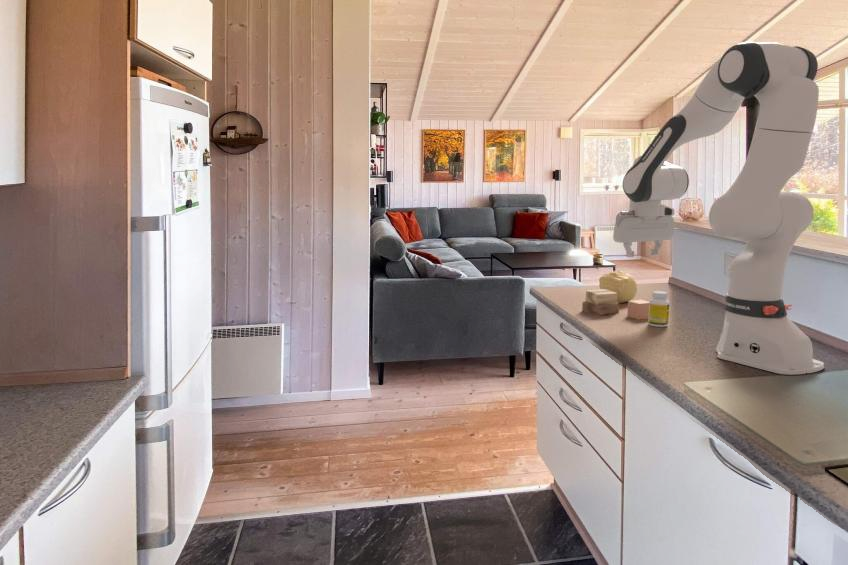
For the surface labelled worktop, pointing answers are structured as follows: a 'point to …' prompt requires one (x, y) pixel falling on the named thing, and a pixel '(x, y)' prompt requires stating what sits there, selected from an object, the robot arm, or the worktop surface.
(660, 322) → the supplement bottle
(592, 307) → the bottom block
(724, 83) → the robot arm
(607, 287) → the pale yellow rounded lump
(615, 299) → the top block
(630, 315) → the cube
